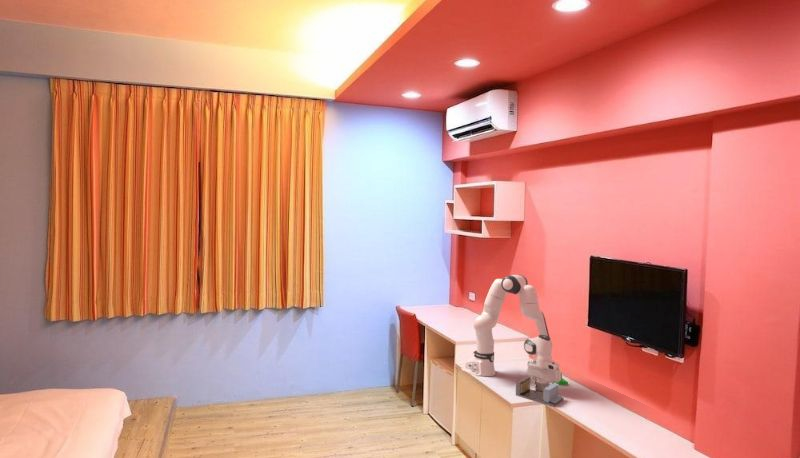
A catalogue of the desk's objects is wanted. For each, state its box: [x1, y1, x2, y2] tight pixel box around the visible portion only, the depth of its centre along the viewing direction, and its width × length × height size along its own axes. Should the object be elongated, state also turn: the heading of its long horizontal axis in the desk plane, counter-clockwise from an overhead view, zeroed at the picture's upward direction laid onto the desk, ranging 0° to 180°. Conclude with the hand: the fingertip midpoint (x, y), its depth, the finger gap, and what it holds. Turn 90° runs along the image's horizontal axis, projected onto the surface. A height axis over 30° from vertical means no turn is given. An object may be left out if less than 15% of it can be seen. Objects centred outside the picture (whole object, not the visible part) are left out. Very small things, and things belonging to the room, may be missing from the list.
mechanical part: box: [555, 372, 569, 386], centre depth 310 cm, size 12×6×8 cm, turn 8°
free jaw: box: [543, 382, 563, 403], centre depth 276 cm, size 7×13×7 cm, turn 139°
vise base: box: [515, 375, 564, 408], centre depth 282 cm, size 23×13×8 cm, turn 49°
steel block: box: [534, 379, 551, 393], centre depth 293 cm, size 5×8×6 cm, turn 139°
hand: (543, 386), depth 293 cm, fingers open, 8 cm apart
